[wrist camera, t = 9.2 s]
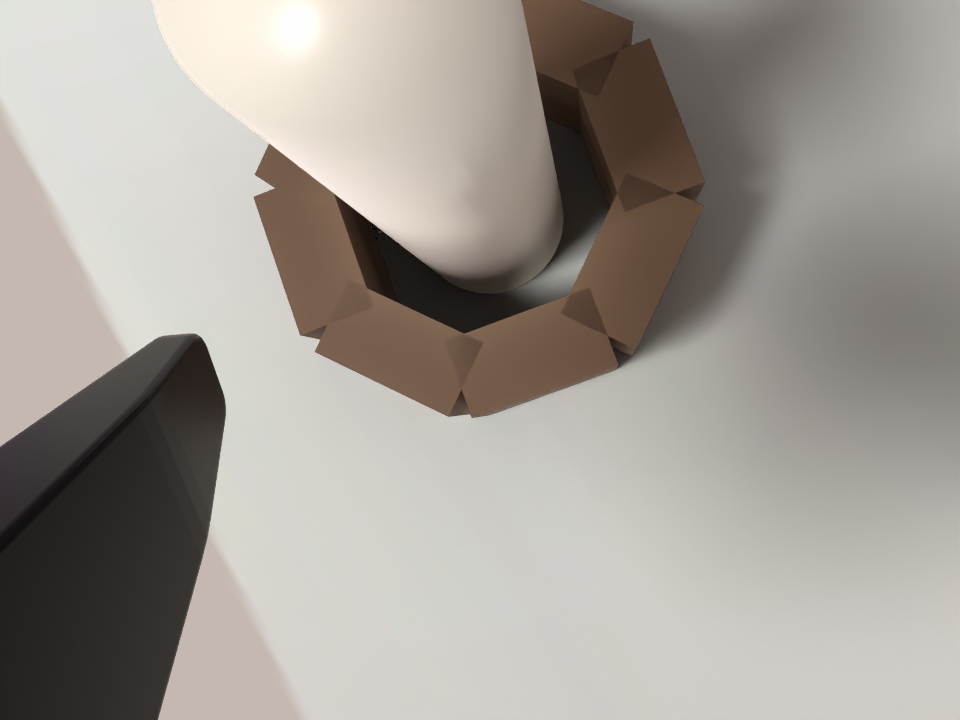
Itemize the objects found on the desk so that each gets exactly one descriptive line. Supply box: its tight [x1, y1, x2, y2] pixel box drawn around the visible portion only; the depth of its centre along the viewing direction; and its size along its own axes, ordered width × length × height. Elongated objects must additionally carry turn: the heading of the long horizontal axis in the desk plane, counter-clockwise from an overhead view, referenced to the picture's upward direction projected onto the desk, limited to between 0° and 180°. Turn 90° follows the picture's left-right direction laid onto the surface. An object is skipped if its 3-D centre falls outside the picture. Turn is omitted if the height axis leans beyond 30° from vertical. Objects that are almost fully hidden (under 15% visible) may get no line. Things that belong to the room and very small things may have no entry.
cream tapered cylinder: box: [151, 0, 564, 293], centre depth 15 cm, size 4×4×13 cm
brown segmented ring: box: [254, 0, 705, 418], centre depth 20 cm, size 9×9×3 cm
